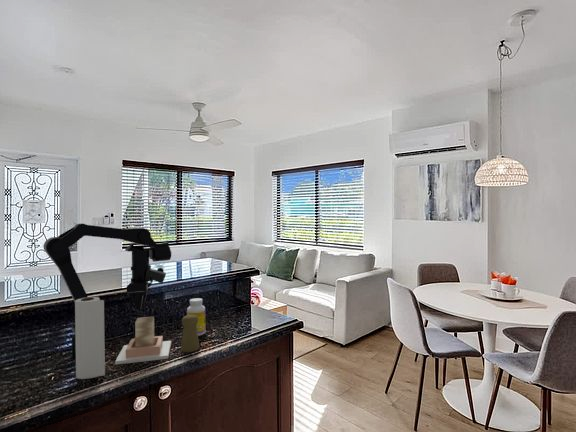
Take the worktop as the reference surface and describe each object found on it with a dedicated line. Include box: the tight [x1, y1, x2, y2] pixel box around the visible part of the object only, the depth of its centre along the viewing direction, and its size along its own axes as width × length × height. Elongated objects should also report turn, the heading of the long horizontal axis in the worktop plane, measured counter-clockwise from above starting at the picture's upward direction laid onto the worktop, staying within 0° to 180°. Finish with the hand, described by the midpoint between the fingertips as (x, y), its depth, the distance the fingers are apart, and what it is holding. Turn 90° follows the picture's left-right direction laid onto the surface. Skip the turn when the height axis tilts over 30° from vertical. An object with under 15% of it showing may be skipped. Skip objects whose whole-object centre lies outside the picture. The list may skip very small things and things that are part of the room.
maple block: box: [134, 316, 155, 347], centre depth 110 cm, size 5×5×10 cm
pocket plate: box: [114, 335, 172, 365], centre depth 110 cm, size 15×13×4 cm
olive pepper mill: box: [180, 314, 200, 353], centre depth 114 cm, size 6×6×11 cm
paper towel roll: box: [74, 296, 106, 380], centre depth 95 cm, size 7×6×21 cm
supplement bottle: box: [186, 297, 207, 337], centre depth 128 cm, size 7×7×13 cm
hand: (141, 306), depth 122 cm, fingers open, 9 cm apart
